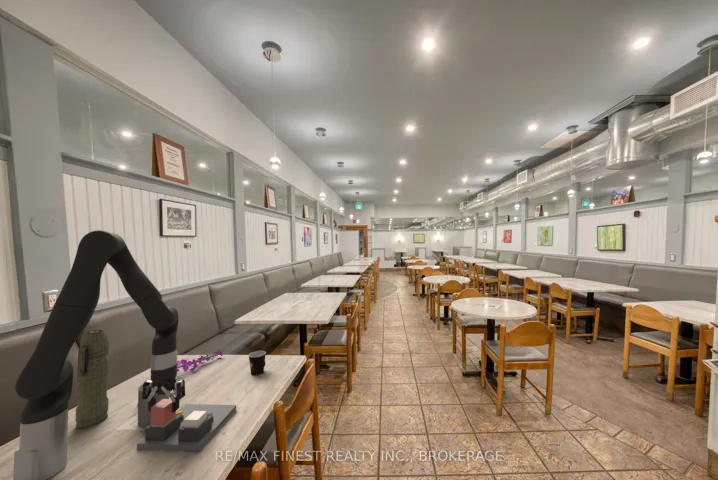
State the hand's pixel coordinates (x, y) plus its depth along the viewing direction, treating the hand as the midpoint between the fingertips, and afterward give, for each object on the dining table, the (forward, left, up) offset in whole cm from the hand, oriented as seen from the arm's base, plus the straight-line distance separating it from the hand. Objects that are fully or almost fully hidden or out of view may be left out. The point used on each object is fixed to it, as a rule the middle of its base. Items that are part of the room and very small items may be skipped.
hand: (163, 410), depth 90 cm
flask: (+20, +25, -10) cm, 34 cm away
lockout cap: (0, 0, -3) cm, 3 cm away
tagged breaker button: (0, 0, -7) cm, 7 cm away
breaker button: (0, -12, -5) cm, 13 cm away
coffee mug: (+48, -11, -10) cm, 50 cm away
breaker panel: (+6, -6, -10) cm, 13 cm away
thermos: (+8, +37, -10) cm, 39 cm away
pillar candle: (+10, +13, -10) cm, 19 cm away
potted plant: (+52, +30, -10) cm, 61 cm away
